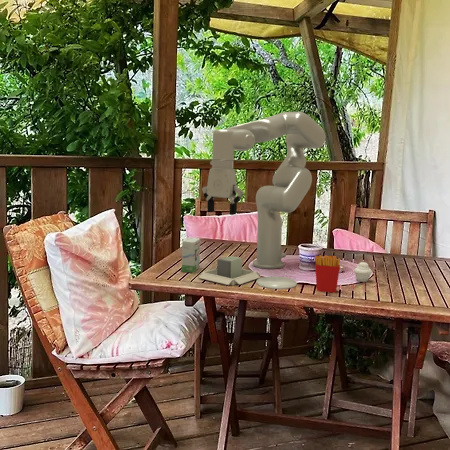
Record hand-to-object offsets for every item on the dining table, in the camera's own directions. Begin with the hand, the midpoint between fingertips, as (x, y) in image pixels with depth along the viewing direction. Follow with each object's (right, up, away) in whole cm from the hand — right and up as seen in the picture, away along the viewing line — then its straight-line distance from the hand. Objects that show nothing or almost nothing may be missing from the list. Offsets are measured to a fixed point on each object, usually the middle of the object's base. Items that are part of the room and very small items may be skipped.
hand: (221, 213), depth 190 cm
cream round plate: (+19, -25, -4) cm, 32 cm away
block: (+3, -23, +2) cm, 24 cm away
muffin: (+51, -25, +1) cm, 56 cm away
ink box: (-12, -22, +13) cm, 28 cm away
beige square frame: (+3, -23, +2) cm, 23 cm away
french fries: (+35, -26, -12) cm, 45 cm away
